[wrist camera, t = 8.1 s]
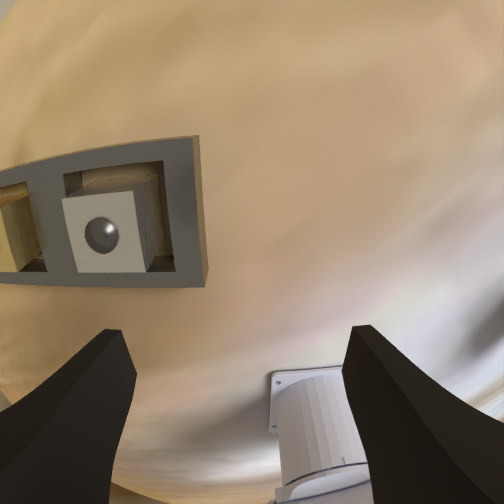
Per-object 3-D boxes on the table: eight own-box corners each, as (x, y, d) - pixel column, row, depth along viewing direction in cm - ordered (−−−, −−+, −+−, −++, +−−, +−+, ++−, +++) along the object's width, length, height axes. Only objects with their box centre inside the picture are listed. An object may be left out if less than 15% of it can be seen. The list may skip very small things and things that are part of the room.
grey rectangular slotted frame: (208, 270, 18) (204, 287, 16) (2, 270, 18) (-11, 282, 16) (199, 135, 15) (192, 137, 13) (-21, 177, 15) (-37, 184, 13)
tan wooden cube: (49, 245, 17) (16, 273, 13) (14, 247, 17) (-18, 272, 13) (37, 190, 16) (-2, 210, 12) (2, 197, 16) (-34, 216, 12)
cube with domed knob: (165, 240, 17) (144, 273, 14) (106, 242, 17) (77, 273, 14) (157, 174, 16) (131, 191, 12) (96, 180, 16) (59, 199, 12)
